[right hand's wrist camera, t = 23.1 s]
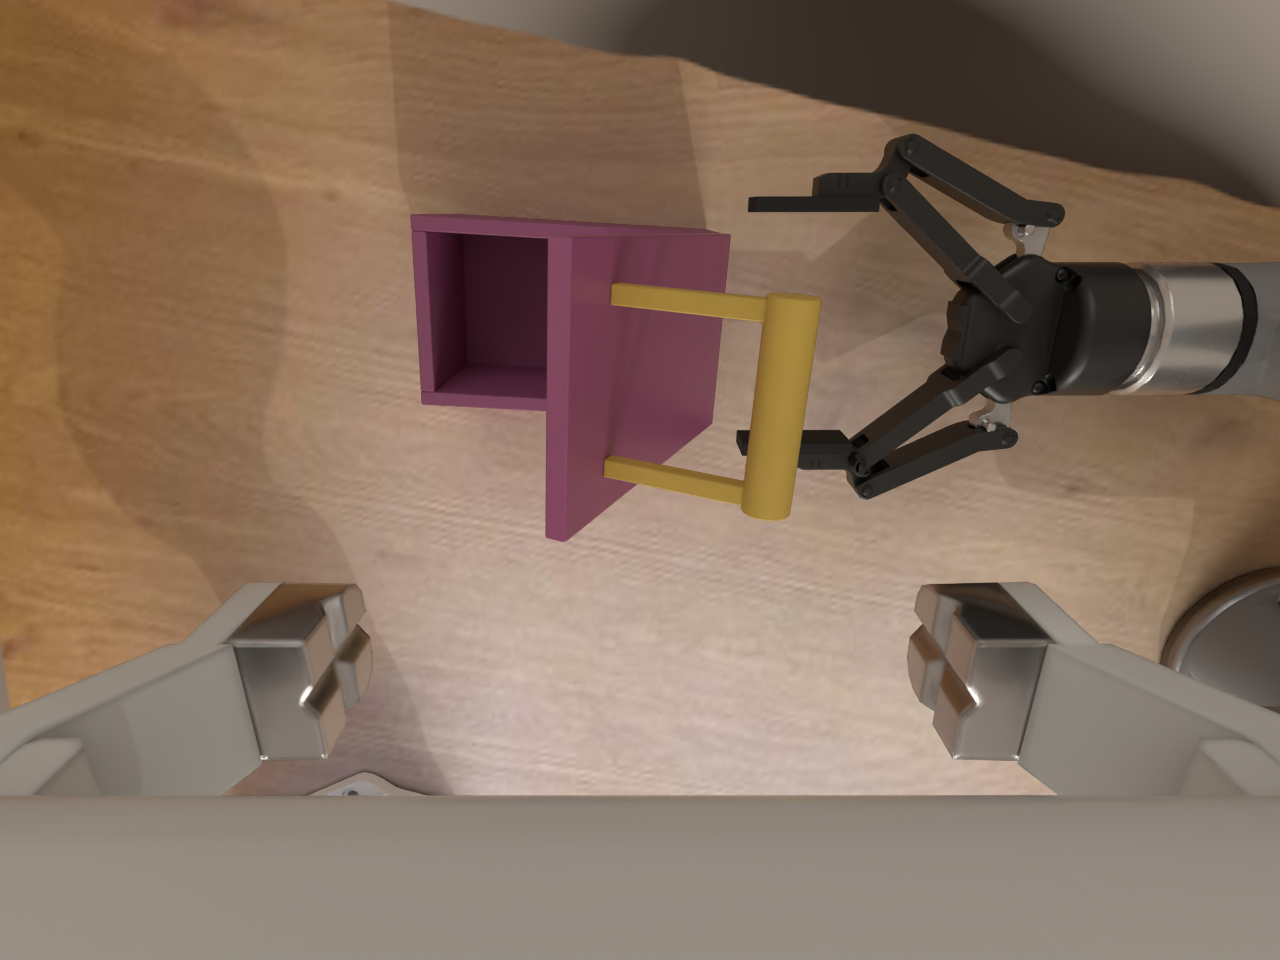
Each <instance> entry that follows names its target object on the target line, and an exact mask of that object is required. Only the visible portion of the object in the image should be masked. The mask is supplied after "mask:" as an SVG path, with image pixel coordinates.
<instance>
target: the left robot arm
mask: <svg viewBox="0 0 1280 960" xmlns="http://www.w3.org/2000/svg"><path fill="white" fill-rule="evenodd" d="M908 173H910V174H911V175H913V176H915V177H917V178H918V179H920V180H922V181H923V182H925V183H927V184H929V185H930V186H932V187H934V188H935V189H937V190H939V191H941V192H942V193H944V194H946V195H947V196H949V197H951V198H953V199H954V200H956V201H958V202H959V203H961V204H963V205H964V206H966V207H968V208H970V209H971V210H973V211H975V212H976V213H978V214H980V215H982V216H983V217H985V218H987V219H989V220H992V221H995V222H998V223H1003V224H1005V225H1004V227H1003V231H1004V235H1005V237H1006V238H1008V239H1010V240H1012V241H1013V242H1014V243H1015V244H1016V248H1017V250H1016V254H1013V255H1011V256H1009V257H1007V258H1006V259H1004V260H1003V261H1001V262H1000V263H998V264H997V265H995V266H993V265H992V264H991V263H990V262H989V261H988V260H986V259H985V258H983V257H982V256H980V255H979V254H978V253H977V252H976V251H975V250H974V249H973V248H972V247H971V246H970V245H969V244H968V243H967V242H966V241H965V240H964V239H963V238H962V237H961V236H960V235H959V234H958V232H957V231H956V230H955V229H954V228H953V227H952V226H951V225H950V224H949V223H948V222H947V221H946V220H945V219H944V218H943V217H942V216H941V215H940V214H939V213H938V212H937V211H936V210H935V208H934V207H933V206H932V205H931V204H930V203H929V202H928V201H927V200H926V199H925V198H924V197H923V196H922V195H921V194H920V193H919V192H918V191H917V190H916V189H915V188H914V187H913V186H912V184H911V183H910V182H909V181H908V180H907V179H906V177H907V175H908ZM880 205H881V206H882V207H883V208H884V209H885V210H886V211H887V212H888V213H889V214H890V215H891V216H892V217H893V218H894V219H895V220H896V221H897V222H898V223H899V224H900V225H901V226H902V227H903V228H904V229H905V230H906V231H907V232H908V233H909V234H910V235H911V236H912V237H913V238H914V239H915V240H916V241H917V242H918V244H919V245H920V246H921V247H922V248H923V249H924V250H925V251H926V252H927V253H928V254H929V255H930V256H931V257H932V258H933V259H934V260H935V261H936V262H937V263H938V264H939V265H940V266H941V267H942V268H943V269H944V272H945V274H946V275H947V276H948V277H949V278H950V279H951V280H952V281H953V282H954V283H955V284H956V285H957V286H958V287H959V288H960V290H959V291H958V292H957V294H956V295H955V297H954V299H953V301H949V302H948V308H947V323H948V329H947V331H946V334H945V336H944V338H943V341H942V346H941V353H940V354H942V355H944V359H945V362H946V364H944V365H943V366H942V367H940V368H939V369H938V370H936V371H935V372H934V373H932V374H931V375H930V376H929V377H928V379H927V382H926V383H924V384H923V385H922V386H920V387H919V388H918V389H916V390H915V391H914V392H912V393H911V394H910V395H908V396H907V397H906V398H904V399H903V400H902V401H900V402H899V403H897V404H896V405H895V406H893V407H892V408H891V409H889V410H888V411H887V412H885V413H884V414H883V415H881V416H880V417H879V418H877V419H876V420H875V421H873V422H872V423H871V424H869V425H868V426H866V427H865V428H864V429H862V430H861V431H860V432H858V433H857V434H856V435H854V436H853V437H852V438H850V439H849V440H848V439H847V437H846V436H845V435H844V434H843V433H842V432H841V431H840V430H802V437H801V444H800V451H799V457H798V464H797V468H800V469H802V470H812V469H813V470H818V469H819V470H845V471H846V473H847V481H848V482H849V484H850V485H851V486H852V488H853V489H854V490H855V492H856V493H857V494H858V495H859V497H860V498H862V499H871V498H873V497H875V496H878V495H880V494H882V493H885V492H887V491H889V490H891V489H894V488H896V487H898V486H901V485H903V484H905V483H907V482H910V481H912V480H914V479H917V478H919V477H921V476H924V475H926V474H928V473H930V472H933V471H935V470H937V469H940V468H942V467H944V466H946V465H949V464H951V463H953V462H956V461H958V460H960V459H962V458H965V457H967V456H969V455H972V454H974V453H976V452H979V451H987V450H996V449H1005V448H1010V447H1012V446H1013V445H1015V443H1016V442H1017V440H1018V434H1017V432H1016V431H1014V430H1013V429H1011V428H1010V419H1011V407H1012V402H1014V401H1016V400H1018V399H1020V398H1022V397H1025V396H1030V395H1103V394H1107V393H1108V394H1111V395H1179V394H1220V395H1251V396H1259V397H1265V398H1269V399H1273V400H1276V401H1280V262H1268V263H1230V264H1222V263H1210V262H1136V263H1128V264H1126V265H1125V264H1123V263H1119V262H1050V261H1047V260H1046V259H1044V258H1043V257H1041V256H1042V253H1043V249H1044V246H1045V243H1046V240H1047V236H1048V233H1049V230H1050V227H1055V226H1057V225H1059V224H1060V223H1061V222H1062V221H1063V219H1064V216H1065V210H1064V208H1063V206H1062V205H1060V204H1057V203H1050V202H1042V201H1034V200H1026V199H1025V198H1023V197H1021V196H1020V195H1018V194H1016V193H1015V192H1013V191H1011V190H1009V189H1008V188H1006V187H1004V186H1003V185H1001V184H999V183H998V182H996V181H994V180H993V179H991V178H989V177H988V176H986V175H984V174H983V173H981V172H979V171H978V170H976V169H974V168H973V167H971V166H969V165H968V164H966V163H964V162H963V161H961V160H959V159H957V158H956V157H954V156H952V155H951V154H949V153H947V152H946V151H944V150H942V149H941V148H939V147H937V146H936V145H934V144H932V143H931V142H929V141H927V140H926V139H924V138H922V137H921V136H919V135H916V134H909V135H905V136H902V137H898V138H895V139H892V140H891V141H889V142H888V143H887V145H886V146H885V149H884V157H883V159H882V161H881V163H880V165H879V167H878V168H877V169H876V170H875V171H874V172H872V173H826V174H822V175H820V176H818V177H815V178H813V189H812V197H750V198H749V202H748V212H879V206H880ZM979 393H980V394H982V395H983V396H984V397H986V398H988V403H987V405H986V406H985V407H984V408H983V409H982V410H979V411H977V412H973V413H971V414H970V415H969V420H967V421H962V422H958V423H955V424H952V425H950V426H947V427H945V428H943V429H941V430H938V431H936V432H934V433H932V434H929V435H927V436H925V437H923V438H920V439H918V440H916V441H914V442H911V443H909V444H907V445H905V446H902V447H900V448H898V449H896V448H897V447H899V446H900V445H901V444H903V443H904V442H905V441H907V440H908V439H910V438H911V437H912V436H914V435H915V434H916V433H918V432H919V431H921V430H922V429H923V428H925V427H926V426H928V425H929V424H930V423H932V422H933V421H934V420H936V419H937V418H939V417H940V416H941V415H943V414H944V413H946V412H947V411H948V410H950V409H951V408H953V407H955V406H960V405H963V404H965V403H966V402H968V401H969V400H970V399H972V398H973V397H974V396H976V395H977V394H979ZM749 435H750V430H737V438H736V442H737V444H738V447H739V449H740V452H741V454H742V456H747V452H748V444H749ZM894 449H896V450H894ZM1161 665H1163V666H1165V667H1168V668H1170V669H1172V670H1175V671H1177V672H1180V673H1182V674H1184V675H1187V676H1189V677H1192V678H1194V679H1196V680H1199V681H1201V682H1204V683H1206V684H1208V685H1211V686H1213V687H1216V688H1218V689H1220V690H1223V691H1225V692H1228V693H1230V694H1232V695H1235V696H1237V697H1240V698H1242V699H1244V700H1247V701H1249V702H1252V703H1254V704H1256V705H1259V706H1261V707H1264V708H1266V709H1268V710H1271V711H1273V712H1276V713H1278V714H1280V567H1277V568H1270V569H1265V570H1261V571H1257V572H1254V573H1250V574H1247V575H1245V576H1242V577H1239V578H1237V579H1235V580H1233V581H1231V582H1228V583H1227V584H1225V585H1223V586H1221V587H1219V588H1218V589H1216V590H1215V591H1213V592H1211V593H1210V594H1209V595H1207V596H1206V597H1204V598H1203V599H1202V600H1201V601H1199V602H1198V603H1197V604H1196V605H1195V606H1194V607H1193V608H1192V609H1191V610H1190V611H1189V612H1188V613H1187V614H1186V615H1185V616H1184V617H1183V618H1182V619H1181V621H1180V622H1179V623H1178V625H1177V626H1176V627H1175V629H1174V630H1173V632H1172V634H1171V635H1170V637H1169V639H1168V641H1167V643H1166V646H1165V648H1164V651H1163V654H1162V659H1161Z"/></svg>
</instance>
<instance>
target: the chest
mask: <svg viewBox="0 0 1280 960" xmlns="http://www.w3.org/2000/svg"><path fill="white" fill-rule="evenodd" d="M411 229H412V230H413V231H412V247H413V264H414V281H415V297H416V314H417V331H418V348H419V364H420V381H421V391H422V392H421V399H422V404H423V405H439V406H457V407H475V408H493V409H511V410H529V411H547V287H548V236H549V235H585V234H695V233H718V232H714V231H710V230H707V229H691V228H675V227H658V226H642V225H625V224H609V223H593V222H576V221H560V220H543V219H527V218H511V217H494V216H478V215H462V214H413V215H411ZM720 234H721V233H720Z"/></svg>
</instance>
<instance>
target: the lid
mask: <svg viewBox="0 0 1280 960" xmlns="http://www.w3.org/2000/svg"><path fill="white" fill-rule="evenodd" d="M730 238H731V235H730V234H720V233H695V234H585V235H549V236H548V287H547V411H546V534H545V536H546V538H549V539H553V540H557V541H561V542H566V541H568V540H569V539H570V538H571V537H572V536H574V535H575V534H576V533H577V532H579V531H580V530H581V529H582V528H584V527H585V526H586V525H587V524H589V523H590V522H591V521H592V520H593V519H595V518H596V517H597V516H598V515H600V514H601V513H602V512H603V511H605V510H606V509H607V508H608V507H610V506H611V505H612V504H613V503H615V502H616V501H617V500H618V499H619V498H621V497H622V496H623V495H624V494H626V493H627V492H628V491H629V490H631V489H632V488H633V487H634V486H636V485H637V484H641V485H646V486H651V487H655V488H660V489H665V490H670V491H674V492H679V493H684V494H689V495H693V496H698V497H703V498H708V499H712V500H717V501H722V502H727V503H732V504H736V505H741V510H742V511H743V513H745V514H746V515H748V516H750V517H752V518H755V519H759V520H765V521H779V520H783V519H786V518H787V517H788V516H789V515H790V511H791V504H792V497H793V491H794V484H795V477H796V471H797V464H798V457H799V451H800V444H801V437H802V430H803V424H804V417H805V410H806V404H807V397H808V390H809V384H810V377H811V370H812V364H813V357H814V350H815V343H816V337H817V330H818V323H819V317H820V310H821V303H822V299H821V298H819V297H815V296H810V295H802V294H791V293H770V294H767V296H766V297H757V296H747V295H737V294H728V293H725V288H726V278H727V268H728V258H729V248H730ZM722 318H731V319H740V320H749V321H757V322H763V327H762V336H761V344H760V352H759V361H758V369H757V377H756V385H755V394H754V402H753V410H752V419H751V427H750V435H749V444H748V452H747V460H746V468H745V477H744V481H742V480H736V479H731V478H726V477H721V476H716V475H711V474H706V473H701V472H696V471H691V470H686V469H681V468H676V467H671V466H665V465H662V464H663V463H664V462H665V461H666V460H668V459H669V458H670V457H671V456H673V455H674V454H675V453H676V452H678V451H679V450H680V449H681V448H683V447H684V446H685V445H686V444H688V443H689V442H690V441H691V440H692V439H694V438H695V437H696V436H697V435H699V434H700V433H701V432H702V431H704V430H705V429H706V428H707V427H709V426H710V425H711V424H712V419H713V409H714V399H715V389H716V379H717V369H718V359H719V349H720V339H721V329H722Z"/></svg>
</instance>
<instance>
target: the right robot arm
mask: <svg viewBox="0 0 1280 960" xmlns="http://www.w3.org/2000/svg"><path fill="white" fill-rule="evenodd" d="M365 611H366V609H365V605H364V600H363V595H362V591H361V590H360V588H359V587H358V586H357V585H356V584H341V583H285V582H256V583H247V584H244V585H243V586H242V587H241V588H240V589H239V590H238V591H237V592H236V593H235V594H234V595H233V596H232V597H230V598H229V599H228V600H227V601H226V602H225V603H224V604H223V605H222V606H221V607H220V608H219V609H218V610H216V611H215V612H214V613H213V614H212V615H211V616H210V617H209V618H208V619H207V620H206V621H205V622H204V623H202V624H201V625H200V626H199V627H198V628H197V629H196V630H195V631H194V632H193V633H192V634H191V635H190V636H188V637H187V638H186V639H185V640H184V641H183V642H182V643H181V644H168V645H165V646H163V647H160V648H158V649H156V650H153V651H151V652H148V653H146V654H144V655H141V656H139V657H136V658H134V659H132V660H129V661H127V662H124V663H122V664H120V665H117V666H115V667H112V668H110V669H107V670H105V671H103V672H100V673H98V674H95V675H93V676H91V677H88V678H86V679H83V680H81V681H79V682H76V683H74V684H71V685H69V686H67V687H64V688H62V689H59V690H57V691H54V692H52V693H50V694H47V695H45V696H42V697H40V698H38V699H35V700H33V701H30V702H28V703H26V704H23V705H21V706H18V707H16V708H13V709H11V710H9V711H6V712H4V713H1V714H0V960H1280V714H1278V713H1276V712H1273V711H1271V710H1268V709H1266V708H1264V707H1261V706H1259V705H1256V704H1254V703H1252V702H1249V701H1247V700H1244V699H1242V698H1240V697H1237V696H1235V695H1232V694H1230V693H1228V692H1225V691H1223V690H1220V689H1218V688H1216V687H1213V686H1211V685H1208V684H1206V683H1204V682H1201V681H1199V680H1196V679H1194V678H1192V677H1189V676H1187V675H1184V674H1182V673H1180V672H1177V671H1175V670H1172V669H1170V668H1168V667H1165V666H1163V665H1160V664H1158V663H1156V662H1153V661H1151V660H1148V659H1146V658H1144V657H1141V656H1139V655H1136V654H1134V653H1132V652H1129V651H1127V650H1124V649H1122V648H1119V647H1117V646H1115V645H1112V644H1099V643H1098V642H1097V641H1096V640H1095V639H1094V638H1093V637H1092V636H1091V635H1089V634H1088V633H1087V632H1086V631H1085V630H1084V629H1083V628H1082V627H1081V626H1080V625H1079V624H1078V623H1077V622H1075V621H1074V620H1073V619H1072V618H1071V617H1070V616H1069V615H1068V614H1067V613H1066V612H1065V611H1064V610H1063V609H1062V608H1060V607H1059V606H1058V605H1057V604H1056V603H1055V602H1054V601H1053V600H1052V599H1051V598H1050V597H1049V596H1048V595H1046V594H1045V593H1044V592H1043V591H1042V590H1041V589H1040V588H1039V587H1038V586H1037V585H1036V584H1032V583H1029V582H1006V583H958V584H928V585H922V586H921V588H920V590H919V592H918V594H917V598H916V604H915V609H914V611H915V613H916V614H917V616H918V617H919V619H920V621H921V622H922V625H921V626H920V627H919V628H918V629H917V630H916V631H915V632H914V633H913V634H912V635H911V636H910V639H909V647H908V654H907V661H908V672H909V678H910V681H911V684H912V687H913V690H914V692H915V694H916V696H917V698H918V699H919V701H920V702H921V703H922V704H924V705H926V706H927V707H929V708H930V709H932V710H933V711H935V713H934V718H933V726H934V727H935V729H936V731H937V733H938V734H939V736H940V738H941V740H942V741H943V743H944V745H945V746H946V748H947V750H948V752H949V753H950V755H951V757H952V758H953V759H963V760H1000V761H1018V763H1017V764H1018V765H1020V766H1021V767H1022V768H1024V769H1025V770H1026V771H1028V772H1029V773H1030V774H1032V775H1033V776H1034V777H1035V778H1037V779H1038V780H1039V781H1041V782H1042V783H1043V784H1045V785H1046V786H1047V787H1049V788H1050V789H1051V790H1053V791H1054V792H1055V793H1057V794H1058V795H767V796H574V795H573V796H572V795H424V794H421V793H417V792H413V791H408V790H405V789H401V788H398V787H396V786H394V785H393V784H391V783H390V782H388V781H386V780H385V779H383V778H381V777H379V776H377V775H375V774H372V773H368V772H362V773H358V774H356V775H354V776H351V777H349V778H347V779H344V780H342V781H340V782H337V783H335V784H333V785H330V786H328V787H326V788H323V789H321V790H319V791H317V792H314V793H312V794H310V795H222V794H224V793H225V792H226V791H228V790H229V789H230V788H232V787H233V786H234V785H236V784H237V783H238V782H239V781H241V780H242V779H243V778H245V777H246V776H247V775H249V774H250V773H251V772H253V771H254V770H255V769H257V768H258V767H259V766H261V765H262V761H279V760H315V759H328V757H329V755H330V753H331V752H332V750H333V748H334V746H335V745H336V743H337V741H338V740H339V738H340V736H341V734H342V733H343V731H344V729H345V727H346V726H347V719H346V713H345V711H347V710H348V709H350V708H351V707H353V706H354V705H356V704H358V703H359V702H360V701H361V699H362V697H363V696H364V694H365V692H366V690H367V688H368V684H369V680H370V676H371V672H372V645H371V639H370V636H369V635H368V634H367V633H366V632H365V631H364V630H363V629H362V628H361V627H360V626H359V625H358V622H359V621H360V619H361V617H362V616H363V614H364V613H365Z"/></svg>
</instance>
